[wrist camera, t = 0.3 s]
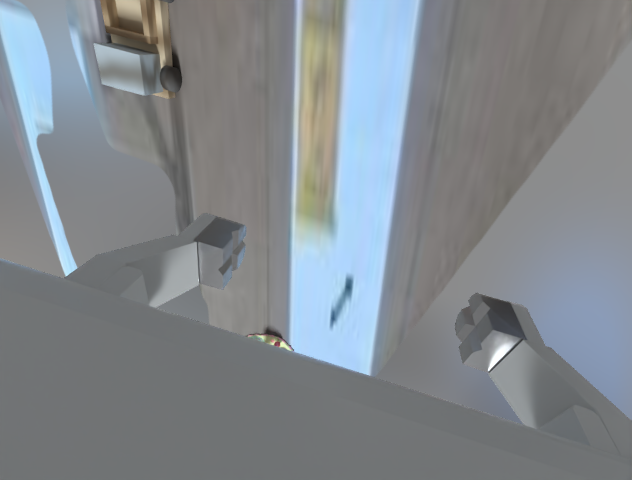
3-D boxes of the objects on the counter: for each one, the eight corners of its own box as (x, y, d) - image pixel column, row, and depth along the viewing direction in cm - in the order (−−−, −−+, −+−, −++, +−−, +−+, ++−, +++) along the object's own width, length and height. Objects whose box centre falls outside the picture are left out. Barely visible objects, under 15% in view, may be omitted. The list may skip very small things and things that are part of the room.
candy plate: (317, 375, 98) (311, 402, 91) (265, 384, 109) (256, 409, 102) (274, 326, 89) (263, 352, 82) (222, 341, 100) (208, 366, 92)
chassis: (94, -60, 45) (52, -75, 40) (173, -42, 45) (141, -54, 39) (120, 82, 57) (89, 86, 51) (183, 99, 56) (159, 105, 51)
